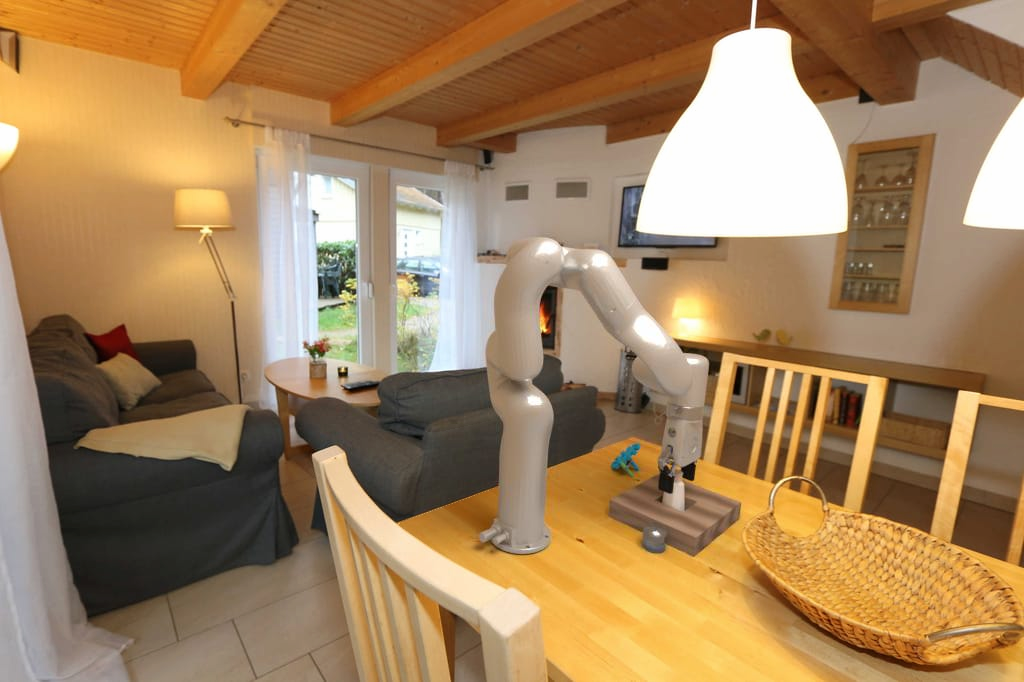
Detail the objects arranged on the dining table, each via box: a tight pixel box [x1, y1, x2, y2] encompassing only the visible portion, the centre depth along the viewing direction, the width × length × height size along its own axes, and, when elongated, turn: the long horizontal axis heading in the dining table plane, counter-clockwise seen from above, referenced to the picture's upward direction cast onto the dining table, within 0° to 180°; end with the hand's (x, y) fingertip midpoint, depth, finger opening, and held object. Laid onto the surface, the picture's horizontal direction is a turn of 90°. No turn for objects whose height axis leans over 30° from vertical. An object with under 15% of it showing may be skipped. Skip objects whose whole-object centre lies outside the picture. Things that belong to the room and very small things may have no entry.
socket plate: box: [608, 472, 742, 558], centre depth 112 cm, size 22×20×4 cm
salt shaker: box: [662, 468, 684, 512], centre depth 112 cm, size 5×5×11 cm
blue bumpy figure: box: [611, 442, 642, 477], centre depth 136 cm, size 11×6×10 cm
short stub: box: [641, 523, 667, 555], centre depth 100 cm, size 5×5×4 cm
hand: (676, 485), depth 111 cm, fingers open, 9 cm apart
